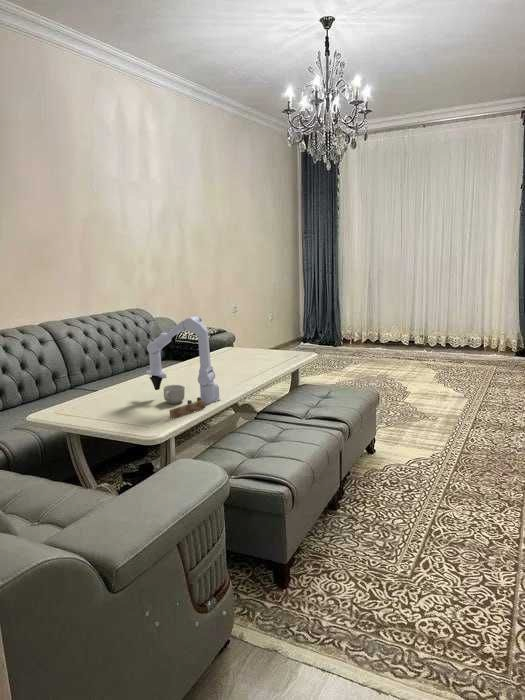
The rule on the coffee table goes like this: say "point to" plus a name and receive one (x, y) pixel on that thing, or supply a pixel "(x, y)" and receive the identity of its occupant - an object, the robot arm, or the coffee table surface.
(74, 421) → the coffee table surface
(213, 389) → the robot arm
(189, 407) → the stop rail
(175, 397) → the teacup
